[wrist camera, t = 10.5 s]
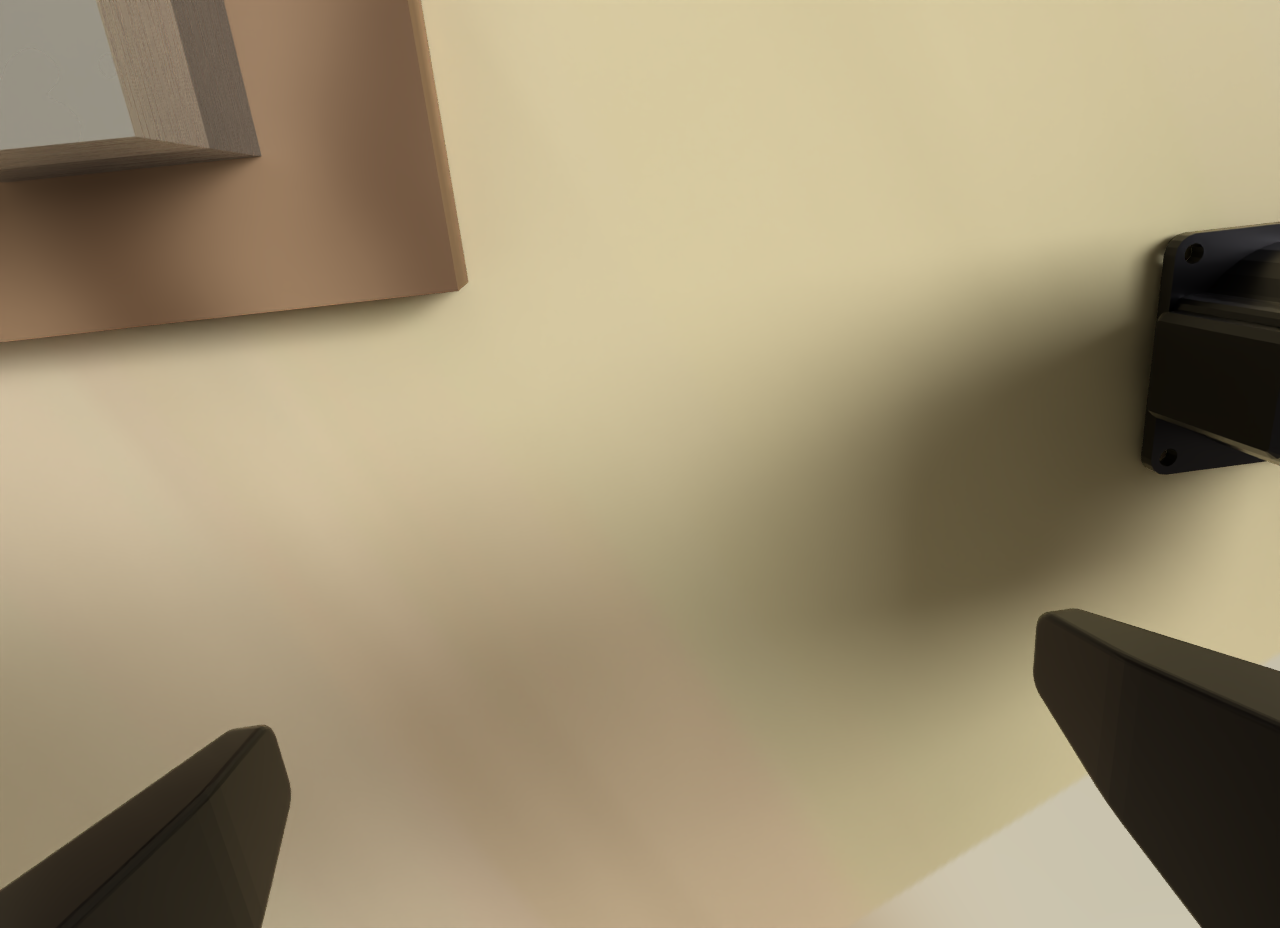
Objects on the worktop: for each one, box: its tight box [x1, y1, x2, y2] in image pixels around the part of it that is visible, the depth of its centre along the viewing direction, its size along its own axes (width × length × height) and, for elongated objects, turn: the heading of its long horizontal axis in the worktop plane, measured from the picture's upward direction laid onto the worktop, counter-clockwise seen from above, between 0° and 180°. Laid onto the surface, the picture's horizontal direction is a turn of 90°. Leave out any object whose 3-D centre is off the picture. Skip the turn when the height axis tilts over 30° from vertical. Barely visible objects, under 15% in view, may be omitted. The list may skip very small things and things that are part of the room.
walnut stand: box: [0, 0, 468, 342], centre depth 16 cm, size 12×12×2 cm
